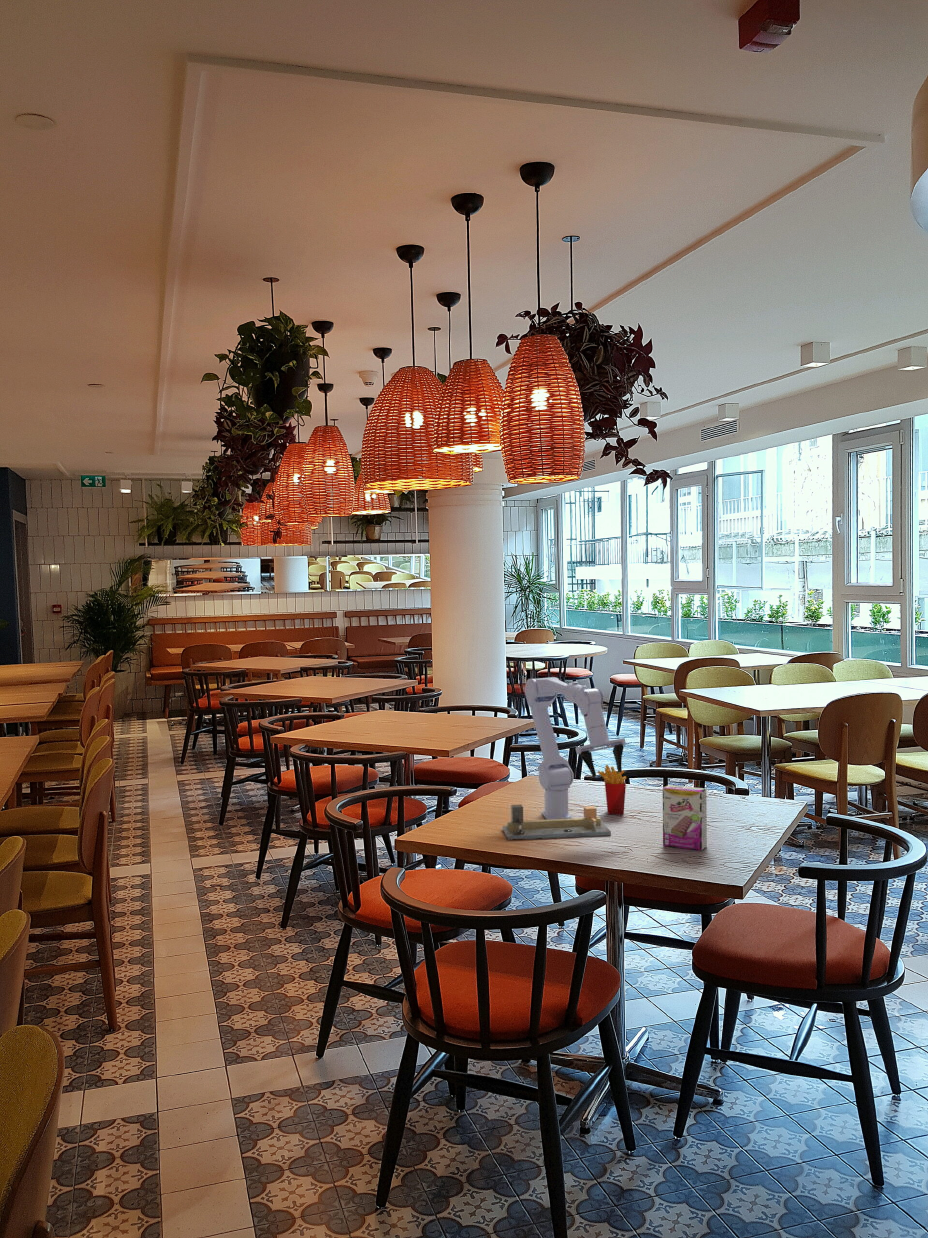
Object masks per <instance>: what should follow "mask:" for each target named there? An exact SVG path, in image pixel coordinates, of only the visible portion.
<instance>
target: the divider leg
mask: <svg viewBox="0 0 928 1238" xmlns="http://www.w3.org/2000/svg"><path fill="white" fill-rule="evenodd" d="M597 815H598V814H597V807H596V806H595V805H591V806H590V805H588V806H587V805H586V806H583V818H586V819H591V820H592V821H593V822H594V829H596V820H595V819H596V818H597Z"/></svg>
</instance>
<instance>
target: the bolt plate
mask: <svg viewBox="0 0 928 1238" xmlns="http://www.w3.org/2000/svg"><path fill="white" fill-rule="evenodd" d="M595 820H596V829H594V822H593V821H592V820H591V819H586V818H585V817H578V818H577V817H575V818H574V817H572V818H571V819H549V820H547V819H533V820H532V819H531V820H530V819H529V820H524V806H523V805H522V804H511V805H510V820H508V821H506V825H502V831H503V833H504V835H505V837H506V839H507V838H508V839H507V841H511V840H510V839H527V840H540V839H539V838H542V839H541V840H544V839H545V838H546V839H547V838H548V839H564V838H565V839H567V838H588V837H608V836H609V837H610V836H611V835H612V831H611V830H610V829H609V828H608V827H607V826H606V825H605V823H603V822H602V818H601V817H599V816H598V817H597V818H596V819H595ZM537 838H538V839H537Z"/></svg>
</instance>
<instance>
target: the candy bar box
mask: <svg viewBox="0 0 928 1238" xmlns="http://www.w3.org/2000/svg"><path fill="white" fill-rule="evenodd" d="M707 798H708V797H707V788H703V787H693V786H683V785H675V784H674V785H672V784H667V785H666V786H663V788H662V845H663V847H670V848H677V849H683V850H684V849H686V850H693V851H703V850H704V849H705V848H707V846H708V844H707V843H708V842H707V841H708V839H707V837H708V836H707V834H708V833H707V829H708V827H707V815H708V813H707V812H708V811H707V809H708V808H707Z"/></svg>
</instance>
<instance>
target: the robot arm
mask: <svg viewBox="0 0 928 1238" xmlns="http://www.w3.org/2000/svg"><path fill="white" fill-rule="evenodd" d="M523 691H524V694H525V698H526V702H527V705H528V707H529V709H530V711H531V717H532V720H533V723H534V727H535V732H536V734H537V738H538V743H539V746H540V750H541V751H540V752H541V755H542V757H543V760H542V761H541V762H540V764H539V765H538V767H537V769H538V781H539V784H540V786H541V788H542V789H543V790H544V811H543V810H542V811H541V814H542V815H543V817H544V818H545V820H549V819H571V818H573V817H572V815H571V814H570V813H569V789H570V788H571V785H572V784H573V782H574V780H575V779H574V778H575V777H574V776H575V775H574V772H573V770H572V768H571V766H570V764H569V761H568V760H567V759H565V758H564V757H563V756H561V755H560V751H559V748H558V747H559V746H558V743H557V739H556V737H555V735H556V734H555V732H554V729H553V724H552V722H551V721H552V720H551V718H550V713H549V707H550V706H551V705H553V702H555V699H556V698H557V696H558V695H563V697H564V699H565V700H566V701H568V702H571V703H574V704H576V707H578V708H579V710H580V714H581V715H582V716H583V719H584V724H585V728H586V732H587V736H588V740H589V741H588V742H589V744H585V745H581V746H576V747H575V752H576V755H580V756H579V757H580V758H581V760H582V761H583V762H584V764H585V765H586V766H587V768H588V770H589V772H590V774H591V776H592V778H596V777H597V771H596V769H595V766H594V760H593V756H592V754H593V753H592V752H595V751H601V750H607V749H612V753H613V757H614V760H615V764H616V769H617V770H616V771H617V773H618V772H622V771H623V770H622V762H623V761H622V760H623V753H624V746H626V744H627V743H626V739H625V738H624V737H623V738H616V739H610V738H609V732H608V727H607V725H606V721H605V717H604V712H603V709H602V705H603V704H604V694H603V692H602V691H601V689H600V688H598V687H593V688H589V687H588V686H587V685H581V684H579V682H578V681H572V682H570V683H566V682H564V681H562V680H560V679H559V678H558V677H555V676H551V677H542V678H541V677H540V678H528V679H527V680H526V682H525V686H524V689H523Z"/></svg>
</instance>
